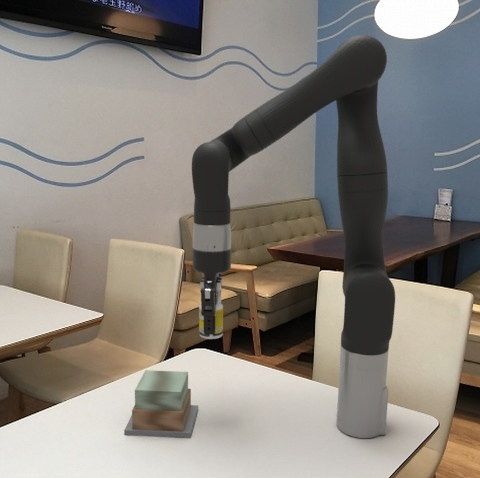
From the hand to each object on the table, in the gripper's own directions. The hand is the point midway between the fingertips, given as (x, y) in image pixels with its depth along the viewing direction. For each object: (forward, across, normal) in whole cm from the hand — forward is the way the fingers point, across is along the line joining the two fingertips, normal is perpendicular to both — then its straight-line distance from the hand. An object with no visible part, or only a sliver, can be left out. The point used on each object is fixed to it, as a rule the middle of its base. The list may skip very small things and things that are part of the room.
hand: (211, 328), depth 109 cm
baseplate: (+20, -2, +9) cm, 22 cm away
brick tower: (+20, -2, +9) cm, 22 cm away
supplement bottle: (+2, 0, 0) cm, 2 cm away
